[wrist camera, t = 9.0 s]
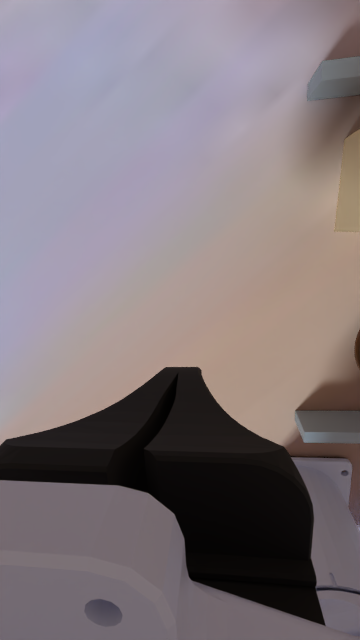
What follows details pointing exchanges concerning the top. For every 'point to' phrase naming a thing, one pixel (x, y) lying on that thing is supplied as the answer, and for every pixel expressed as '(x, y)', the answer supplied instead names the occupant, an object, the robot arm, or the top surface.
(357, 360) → the tin
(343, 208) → the kraft box
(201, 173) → the top surface
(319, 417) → the tray
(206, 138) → the top surface
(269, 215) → the top surface
